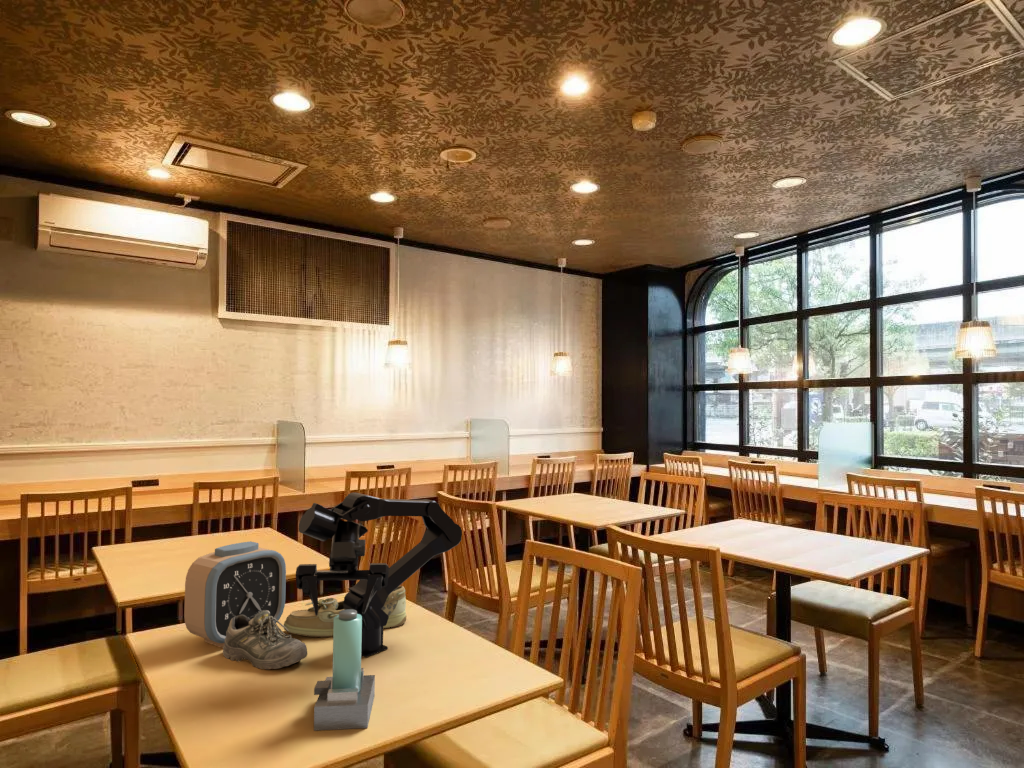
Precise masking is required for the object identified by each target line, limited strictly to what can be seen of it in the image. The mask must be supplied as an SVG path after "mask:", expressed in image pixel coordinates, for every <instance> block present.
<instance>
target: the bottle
mask: <svg viewBox="0 0 1024 768" xmlns="http://www.w3.org/2000/svg"><path fill="white" fill-rule="evenodd" d="M332 637H333V638H332V639H333V641H332V676H331V677H332V689H347V688H358V692H359V691H360V689H361V668H362V656H361V642H362V616H361V615H360V614H357V611H356V610H353V609H347V610H342V611H340V612H339V615H337V616H335V617H334V627H333V636H332Z"/></svg>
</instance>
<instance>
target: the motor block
mask: <svg viewBox="0 0 1024 768" xmlns="http://www.w3.org/2000/svg"><path fill="white" fill-rule="evenodd" d="M364 670H365V668H364V667H361V689H360V691H359V692H358V688H347V689H332V676H326V678H325V680H317V681H316V683H315V685H314V688H313V695H314V696H318V697H317V699H316V702H315V704H314V707H313V708H314V709H313V710H314V712H313V731H331V730H332V731H333V730H334V731H335V730H352V729H368V727H369V722H370V718H371V713H372V709H373V705H374V700H375V696H376V695H375V688H376V687H375V685H376V682H375V681H376V674H370V675H369V674H368V675H367V674H366V675H365V671H364Z"/></svg>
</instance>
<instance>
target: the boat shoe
mask: <svg viewBox="0 0 1024 768" xmlns="http://www.w3.org/2000/svg"><path fill="white" fill-rule="evenodd" d="M406 600H407V599H406V589H405V587H404V586H403V585H400V586H399V587H397V588H396V589H395V590H394V591H393V592H392V593H390V594H389V596H388V598H387V600H386V602H385V604H384V607H383V608H382V610H383V611H384V612H385V613H386V614H387V615H388V616H389V618H388V621H387V624H386V626H383V628H385V629H390V627H391V628H396V627H400V626H402V625H403V624H405V623H406V621H407V611H406V607H407V601H406ZM343 602H344V600H340V601H338V599H337V598H334V597H329V598H326V599H323V598H320V599H318V615H317V616H316V615H315V611H314V608H313V606H312V607H309V608H308V609H299V610H298V609H297V610H293V611H291V612H290V613H289V614H288V615H287V617H286V619H285V621H284V623H283V626H285V627H286V628H287V629H288V630H289V631H287V630H286V629H284V628H283V629H284V631H285V632H287V633H290V634H294V635H298V636H305V637H311V638H313V637H314V638H315V637H316V638H328V637H329V638H331V636H332V637H333V627H334V617H335V616H337V615H339V612H340V611H342V610H344V607H343ZM310 605H313V604H312V601H311V602H308V603H305V605H304V606H310Z"/></svg>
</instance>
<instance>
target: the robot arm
mask: <svg viewBox="0 0 1024 768" xmlns="http://www.w3.org/2000/svg"><path fill="white" fill-rule="evenodd" d="M383 517H421V518H422V522H423V524H424V526H425V528H426V530H424V534H423V536H422V538H421V540H420V542H418V543H417V544H416V545H415V546H413V547H412V548H411V549H409V551H407V553H405V554H404V555H403V556H402V557H400V558H398V560H397V561H396V562H394V563H393V564H392V565H391V566H389V564H387V563H386V562H377V563H375V562H373V563H371V562H370V563H369V569H358V566H359V565H358V564H359V557H365V556H366V554H365V553H366V539H360V538H362V537H363V536H365V534H367V533H368V532H369V530H368V528H367V527H366V526H364V525H363V523H362V522H369V521H374V520H377V519H380V518H383ZM299 520H300V521H299V523H298V532H299V533H300V534H303V535H306V536H309V537H311V538H313V539H316V540H319V541H321V542H326V541H328V540H329V539H330V540H332V541H331V549H330V550H331V552H330V553H329V561H328V567H329V570H318V566H317V564H316V563H310V564H309V563H304V564H303V563H301V564H299V565H298V566H297V567H296V569H295V570H296V571H295V583H296V589H298V590H301V591H302V592H303V593H307V595H308V596H309V599H310V600H311V602H312V604H311V605H312V607H313V608H314V611H315V615H316V616H317V615H318V605H319V604H318V601H319V597H318V593H319V592H318V581H357V583H356V584H355V585H353V586H352V587H351V586H350V587H348V592H347V593H346V594H345V596H344V597H343V601H344V602H343V607H344V610H347V609H353V610H356V611H357V614H360V615H361V616H362V642H361V657H363V658H368V657H371V656H374V655H376V654H378V653H381V652H384V651H386V650H388V646H387V645H385V644H384V629H383V626H386V624H387V621H388V618H389V616H388V615H387V614H386V613H385V612H384V611H383V610H382V608H383V607H384V604H385V602H386V600H387V598H388V596H389V594H390V593H392V592H393V591H394V590H395V589H396V588H397V587H399V586H402V585H403V583H404V582H405V581H406V580H408V579H409V578H410V577H412V576H413V575H414V574H415V573H416V572H418V570H420V569H421V568H422V567H423V566H424V565H425V564H426V563H427V562H429V561H430V560H431V559H432V558H433V557H435V556H437V555H440V554H443V553H446V552H449V551H450V550H452V549H453V548H455V547H456V546H458V545H459V544H460V542H461V541H462V536H463V529H462V527H461V525H459V524H458V523H456V522H455V521H454V520H453V519H452V518H451V517H450V516H449V515H448V514H447V513H446V512H445V511H444V510H443V509H442V507H441V506H440V504H439V503H438V502H437V501H435V500H430V499H427V498H426V499H425V498H424V499H407V498H406V499H403V498H402V499H401V498H400V499H399V498H397V499H396V498H381V497H376V496H373V495H368V494H364V493H359V492H350V493H348V494H347V495H346V497H345V498H344V499H343V501H341V502H340V503H338V504H337V505H335V506H334V507H332V508H329V509H328V508H327V507H324V506H323V505H321V504H320V503H316V502H313V503H312V505H311V507H310V508H308V509H307V510H306V511H305V512H304V514H302V515H301V518H300V519H299ZM355 521H360V522H359V523H358V522H355Z"/></svg>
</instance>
